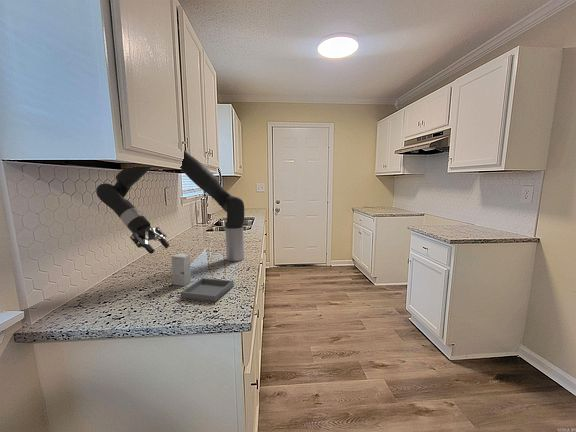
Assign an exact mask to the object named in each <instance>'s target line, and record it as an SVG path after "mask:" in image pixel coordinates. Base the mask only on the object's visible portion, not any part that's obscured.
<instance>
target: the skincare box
mask: <svg viewBox="0 0 576 432" xmlns="http://www.w3.org/2000/svg"><path fill="white" fill-rule="evenodd" d="M171 266H172V267H171V270H172V271H171V273H172V285H175V286H180V287H185V286H188V285H189V284H191V283H192V274H191V273H192V272H191V269H192V267H191V254H188V253H180V252H179V253H175V254H173V255H171Z"/></svg>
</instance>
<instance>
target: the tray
mask: <svg viewBox="0 0 576 432" xmlns="http://www.w3.org/2000/svg"><path fill="white" fill-rule="evenodd" d="M234 285H235V283H234V280H229V279H220V278H219V279H218V278H208V277H207V278H206V277H200V279H198V280H196V281H195V282H194V283H192V284H190V285H189V286H187V287H186V288H185V289H183V290H182V291H180V294H179V295H180V299H181V300H182V299H183V300H190V301H198V302H205V303H206V302H207V303H215V304H216V303H217V302H219V301H220V300H221V299H222V298H223V297H224V296H226V294H227V293H229V292H230V291H231V290H232V289H233V288H234Z"/></svg>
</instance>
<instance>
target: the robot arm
mask: <svg viewBox="0 0 576 432" xmlns="http://www.w3.org/2000/svg"><path fill="white" fill-rule="evenodd" d="M151 168H152V167H133V168H129V169H124V168H123V169H121V170H120V171H119V172H118V173H117V174H116V175H115V179H116V182H115V184H111V183H107V182H104V183H101V184H99V185H98V186H97V187H96V189H95V190H96V191H95V192H96V196H97V197H98V199H99V200H100V201H101V202H102V203H103V204H105V205H106V206H107V207H109V208H110V209H111V210H112V211H113V212H114V213H115V214H116V215H117V217H119V219H120V220H121V222H122V223H123V224H124V225H125V226H126V228H127V229H128V230H129V231H130V232H131V233H132V234H131V235H130V236H129V239H130V240H131V241H132V242H133V244H134V245H136V247H137V248H144V249H145V250H146V252H148V254H150V255H153V254H154V253H155V252H156V250H155V248H154V247H153V246H152V245H151V244H150V243H149V241H157V242H159V243H160V244H161V245H162V246H163V248H165V249H168V248H169V247H170V243H169V242H168V241H167V240H166V237H168V235H167V234H166V233H165V232H164V231H163V230H162V229H161V228H160V227H159V226H155V228H153V227H151V222H150V221H148V219H147V218H146V217H145V216H144V214H143V213H141V211H140V210H138V209H137V208H136V207H135V205H133V203H132V202H131V201H130V200H128V199H126V198H125V197H126V196H127V194H128V192H129V191H130V189H131V188H132V186H133V185H134V184H136V183H137V182H138V181H140V179H142V177H143V176H144V175H145V174H146V173H148V171H150V170H151ZM179 168H180V170H181V171H182V172H183V173H184V174H185V175H186V177H188V178H189V179H190V180H191V181H192V182H193V183H194V184H195V185H196V186H197V187H198V188H199V189H201V190H202V191H203V192H204V193H206V194H208V196H210V197H211V198H212V199H214V200H215V202H216V203H217V204H218V205H219V206H220V207H221V208H222V210H224V212H226V221H225V223H224V228H225V230H224V231H225V233H224V234H225V249H226V253H225V254H226V256H225V257H226V261H228V262H239V261H242V260H244V259H245V245H244V244H245V240H244V223H245V204H244V200H243V199H242V198H240V197H238V196H233V195H232V194H230V193H229V192H228V191H227V190H226V189H225V188H224V187H223V186H222V185H221V183H220V182H219V181H218V179H217V177H216V176H215V175H214V174H213V173H212V172H211V171H210V170H209V168H208V167H206V166H205V165H204V164H203V163H201V162H200V161H199V160H198V159H196V158H195V157H194V156H192V155H191V154H190V153H188V151H186V150H185V149H184V159H183V161H182V166H181V167H179Z"/></svg>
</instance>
